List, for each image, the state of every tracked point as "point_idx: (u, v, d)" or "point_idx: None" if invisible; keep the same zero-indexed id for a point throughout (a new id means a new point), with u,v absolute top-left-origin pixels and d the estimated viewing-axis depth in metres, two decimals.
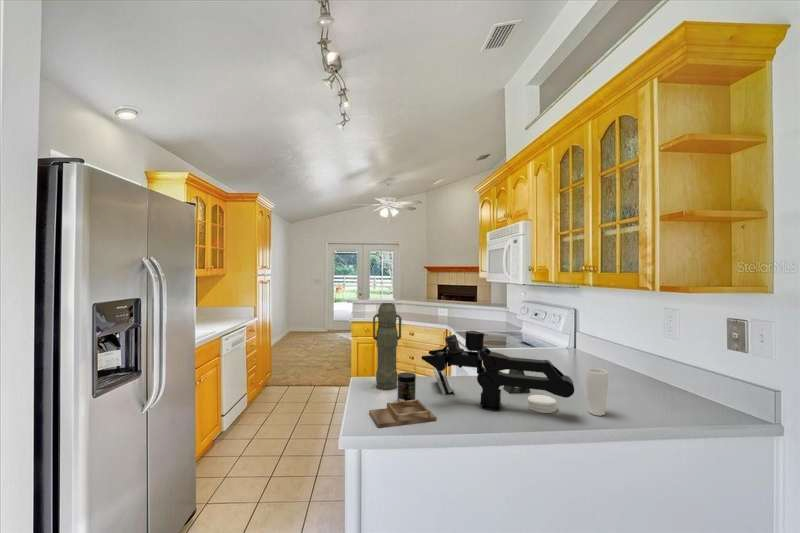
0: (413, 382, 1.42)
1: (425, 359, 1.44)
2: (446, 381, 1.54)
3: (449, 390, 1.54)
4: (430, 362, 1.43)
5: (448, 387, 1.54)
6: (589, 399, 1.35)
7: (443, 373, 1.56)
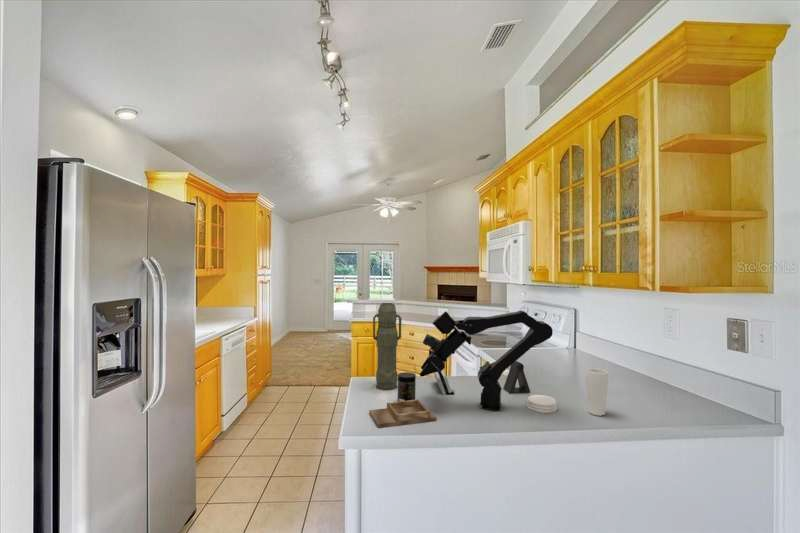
0: (413, 382, 1.42)
1: (424, 373, 1.38)
2: (446, 381, 1.54)
3: (449, 390, 1.53)
4: (430, 371, 1.37)
5: (448, 387, 1.54)
6: (589, 399, 1.35)
7: (443, 373, 1.55)
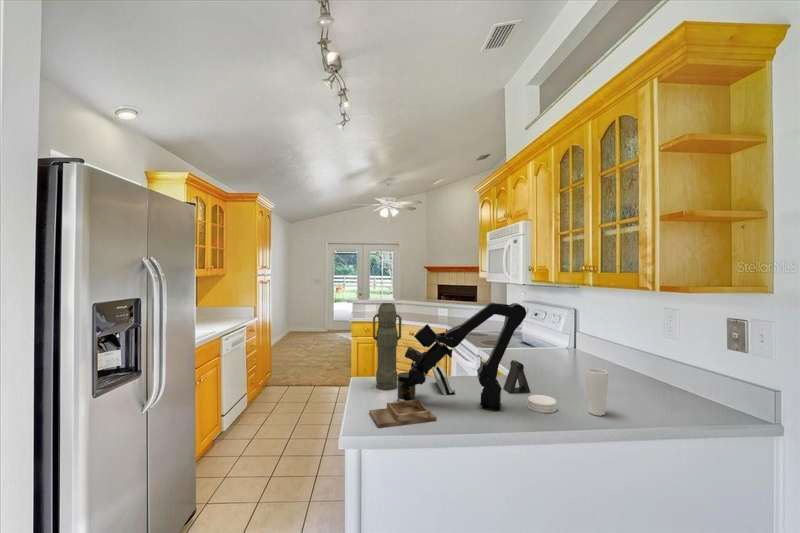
0: None
1: (405, 386, 1.40)
2: (447, 381, 1.54)
3: (450, 390, 1.53)
4: (411, 384, 1.39)
5: (449, 387, 1.53)
6: (589, 399, 1.35)
7: (444, 373, 1.55)
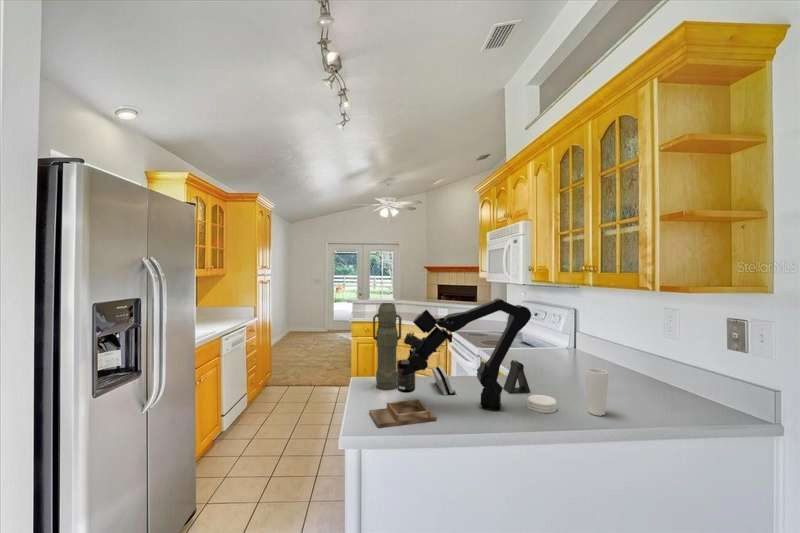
0: None
1: (406, 372, 1.37)
2: (448, 382, 1.53)
3: (451, 391, 1.53)
4: (412, 370, 1.36)
5: (450, 388, 1.53)
6: (589, 399, 1.35)
7: (444, 374, 1.55)
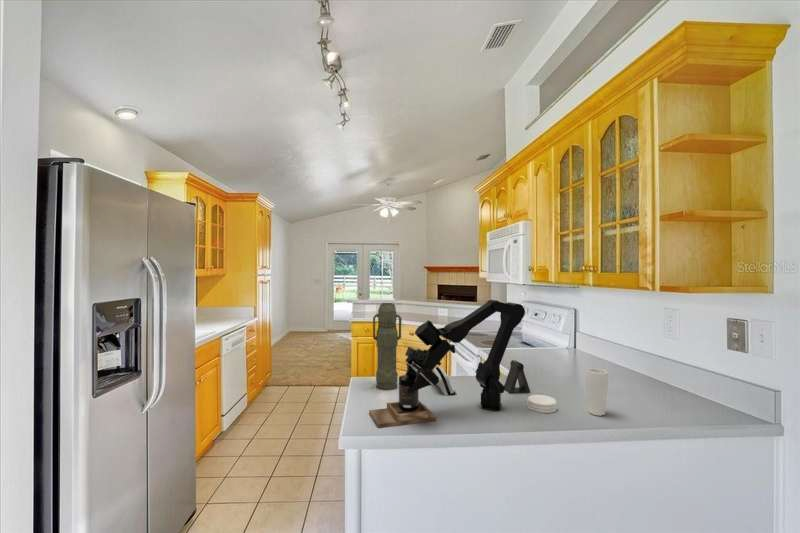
0: None
1: (413, 389, 1.27)
2: (448, 382, 1.53)
3: (451, 391, 1.53)
4: (419, 386, 1.27)
5: (450, 388, 1.53)
6: (589, 399, 1.35)
7: (444, 374, 1.55)
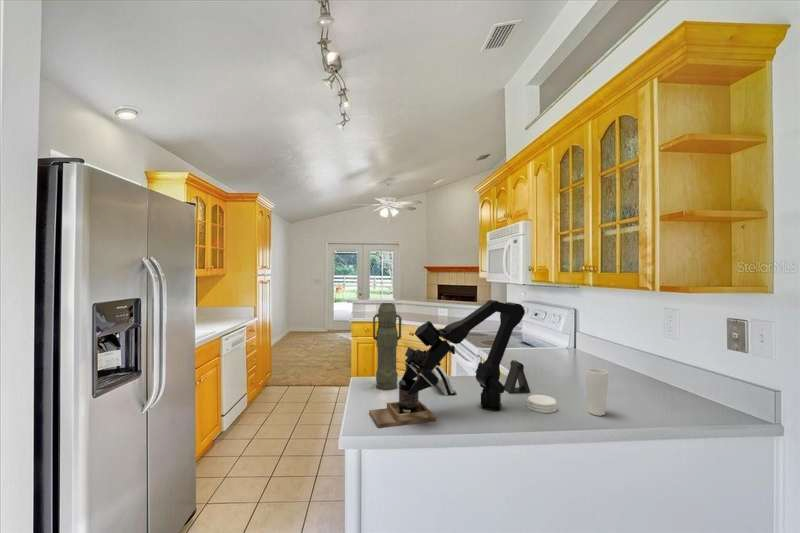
0: None
1: (413, 391, 1.26)
2: (448, 382, 1.53)
3: (451, 391, 1.53)
4: (420, 388, 1.26)
5: (450, 388, 1.53)
6: (589, 399, 1.35)
7: (445, 374, 1.54)
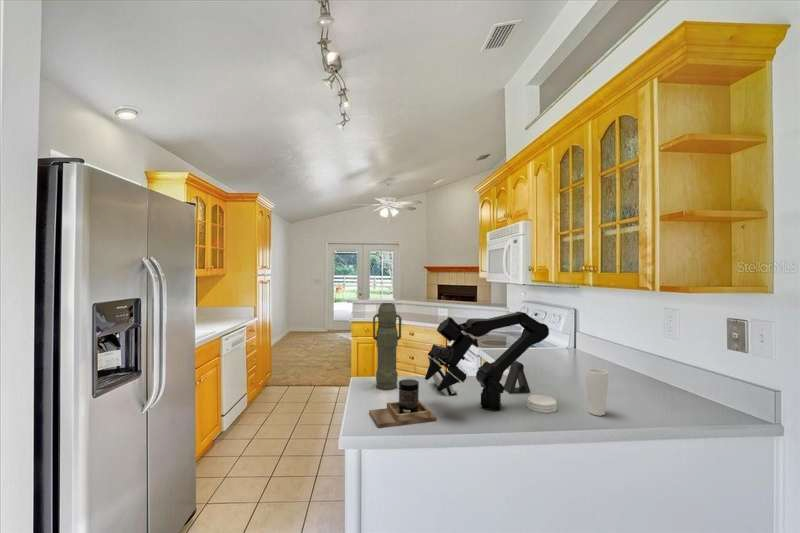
0: (418, 389, 1.30)
1: (442, 387, 1.31)
2: None
3: (452, 391, 1.52)
4: (449, 384, 1.31)
5: (451, 388, 1.53)
6: (589, 399, 1.35)
7: None
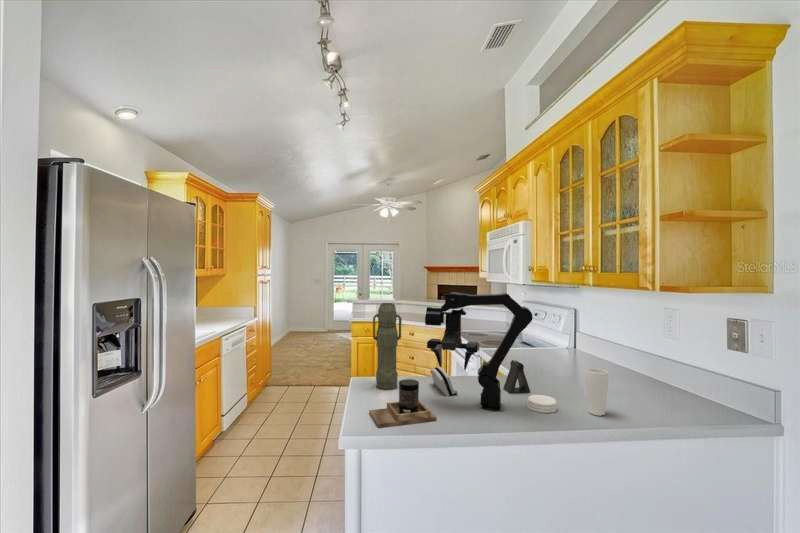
0: (418, 389, 1.30)
1: (467, 364, 1.42)
2: (449, 382, 1.52)
3: (452, 391, 1.52)
4: (469, 358, 1.43)
5: (451, 388, 1.52)
6: (589, 399, 1.35)
7: (446, 374, 1.54)
